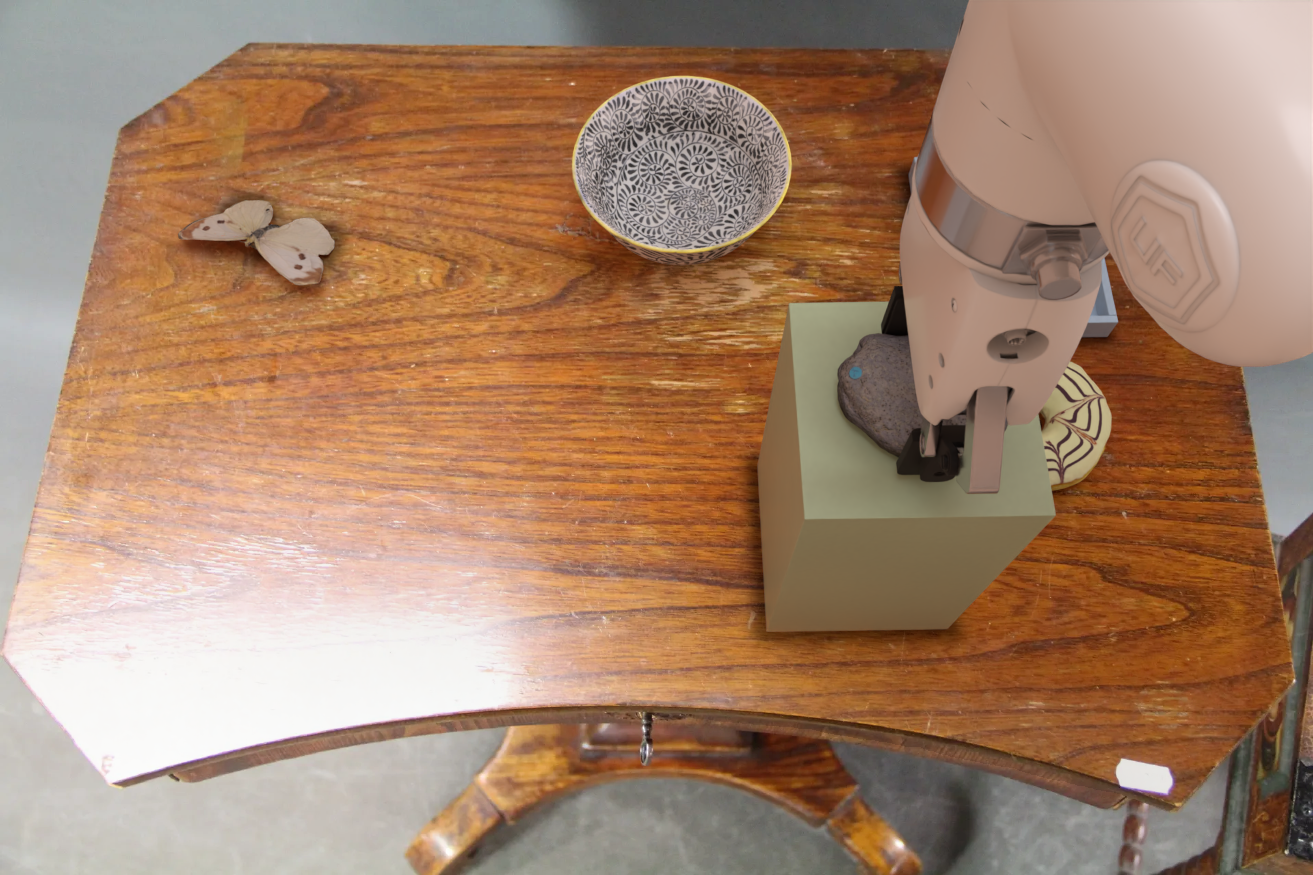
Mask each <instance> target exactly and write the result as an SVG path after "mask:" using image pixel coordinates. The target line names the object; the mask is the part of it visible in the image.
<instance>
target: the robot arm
mask: <svg viewBox="0 0 1313 875" xmlns="http://www.w3.org/2000/svg"><path fill="white" fill-rule="evenodd" d="M929 118H930V119H929V122H928V125H927V128H926V131H925V134H924V137H923V140H922V143H921V146H920V150H919V152H918V154H917V156H916V157H917V161H916V164H915V167H914V171H913V176H912V194H911V193H910V197H909V200H908V203H907V206H906V209H905V213H904V216H903V220H902V225H901V228H900V235H899V264H898V281H899V284H900V285H894V286H893V289H892V292H891V295H890V297H889V300H888V302H889V303H888V306H887V309H886V311H885V314H884V317H883V320H882V323H881V331H882V334H888V335H894V336H904V335H908V336H909V344H910V352H911V360H912V367H913V375H914V382H915V389H916V395H917V401H918V405H919V409H920V412H921V414H922V415H923V420H922V426H921V428H916V429H913V430H912V431H911V433H910V435H909V437H908V439H907V442H906V444H905V446H904V448H903V450H902V452H901V454H900V456H899V458H898V460H897V462H896V466H897V473H898V474H899V475H920V480H922V481H924V482H944V481H949V480H951V479H953V478H954V477H955V476H956V482H957V483H958V484H959V485H960V487H961V488H962V489H963V490H964V492H965V493H966V494H994V493H998V492H999V488H1000V479H1001V467H1002V455H1003V443H1004V431H1005V419H1007V422H1008V425H1009V426H1013V425H1023V424H1028V423H1030V422H1031V421H1032V420H1033V419H1034V418H1035V417H1036V416H1037V415H1038V413H1039V412H1040V411H1041V409H1042V408H1043V406H1044V405H1045V403H1046V402H1047V400H1048V399H1049V397H1050V395H1051V394H1052V392H1053V390H1054V389H1055V387H1056V385H1057V384H1058V382H1059V380H1060V378H1061V377H1062V375H1063V373H1064V371H1065V370H1066V368H1067V366H1068V364H1069V362H1071V360H1072V358H1073V357H1074V355H1075V352H1076V351H1077V348H1078V346H1079V344H1080V342H1081V339H1082V338H1083V337H1082V335H1083V333H1084V331H1085V328H1086V326H1087V323H1088V321H1089V318H1090V315H1091V313H1092V310H1093V307H1094V304H1095V301H1096V298H1097V294H1098V291H1099V288H1100V284H1101V281H1102V259H1103V258H1106V257H1107V256H1108V255H1109V254H1110V255H1111V257H1112V259H1113V261H1114V263H1115V265H1116V266H1117V269H1118V271H1119V272H1120V275H1121V278H1122V280H1123V282H1124V284H1125V286H1126V287H1127V288H1128V290H1129V291H1130V293H1131V295H1132V296H1133V298H1134V299H1135V301H1137V302H1138V304H1140V306H1141V307H1142V308H1143V309H1144V311H1145V312H1147V313H1148V314H1149V315H1150V317H1151V318H1152V319H1153V320H1154V321H1155V322H1156V324H1157V326H1159V327H1160V329H1162V330H1163V331H1164V332H1166V334H1168V336H1170V337H1171V338H1172V339H1173V340H1174V341H1175V342H1177V343H1178V344H1179V345H1181V346H1182V347H1184V348H1185V349H1187V350H1189V351H1190V352H1192V353H1194V354H1196V355H1197V356H1200V357H1202V358H1204V359H1206V360H1209V361H1212V362H1216V363H1218V364H1223V365H1225V366H1231V367H1238V368H1264V367H1265V368H1266V367H1269V366H1275V365H1276V366H1277V365H1280V364H1284V363H1288V362H1292V361H1295V360H1299V359H1302V358H1304V357H1306V356H1308V355H1309V356H1310V354H1313V0H968V2H967V5H966V8H965V11H964V13H963V18H962V20H961V22H960V26H959V29H958V31H957V35H956V38H955V42H954V45H953V47H952V50H951V54H950V57H949V60H948V63H947V66H946V69H945V72H944V75H943V79H942V82H941V85H940V88H939V91H938V94H937V98H936V101H935V104H934V106H933V110H932V113H931V116H930V117H929ZM955 415H966V425H942V423H943V419H950V418H952V417H954V416H955Z"/></svg>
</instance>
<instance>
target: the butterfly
mask: <svg viewBox="0 0 1313 875" xmlns="http://www.w3.org/2000/svg"><path fill="white" fill-rule="evenodd" d="M273 216H274V208H273V206H272V204H271V202H270V201H269V200H268V201H267V200H264V199H263V200H261V199H256V200H255V199H254V200H248V199H244V200H242V201H239V202H235V203H233V205H231V206H230V207H228V208H226V209H224V211H223V212H221V213H215V214H212V215H210V216H207V217H203V218H199V219H196V220H193V221H191V222H190V223H188V224H187V225H186V226H185V227H183V228H182V229H181V230H180V231H179V232H178V233H177V237H178V239H179V240H183V241H186V240H187V241H188V240H196V241H197V240H198V241H199V240H200V241H213V242H214V241H215V242H216V241H217V242H219V241H220V242H221V241H225V242H230V241H231V242H235V241H239V243H242V241H241V240H245V241H243V243H244V246H245V247H246V248H250V247H251V248H252V249H253V248H254V250H257V252H258V253H259V255H260V256H261V257H262V258H263V259H264V260H265V261H266V262H267V263H268V264H269V265H270V266H271V267H272V268H273V269H274V270H275V271H276V272H277V273H278V275H281V276H282V277H283V278H285V279H286V280H288V281H289V282H290V283H291V284H293V285H295V286H308V285H317V284H320V282H321V280H322V276H323V273H324V261H323V259H322V258H321V257H319V256H320V255H321V256H327V255H330V253H332V251H333V250H334V249H335V244H336V240H335V239H333V238H332V236H331V233H330V232H329V230H328V229H326V228H325V226H324V225H323V224H322V223H321V222H320V221H318V220H317V219H316V218H313V217H301V218H295V219H293V220H292V221H290V222H287V223H285V224H283V225H281V226H280V225H278V224H275V223H273V224H272V223H271V221H272V219H273ZM270 223H271V224H270Z"/></svg>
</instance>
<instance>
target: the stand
mask: <svg viewBox="0 0 1313 875" xmlns="http://www.w3.org/2000/svg"><path fill="white" fill-rule="evenodd" d="M888 303H889V301H841V302H839V301H838V302H836V301H835V302H833V301H832V302H831V301H830V302H789V303H788V306H787V311H786V316H785V321H784V327H783V332H782V337H781V342H780V346H779V352H778V358H777V363H776V367H775V372H774V376H773V377H774V378H773V382H772V388H771V393H770V398H769V403H768V409H767V412H766V413H767V415H766V420H765V423H764V428H763V435H762V439H761V445H760V451H759V455H758V459H757V460H758V461H757V465H756V466H757V468H756V469H757V483H758V484H757V485H758V505H759V520H760V538H761V539H760V540H761V541H760V542H761V560H762V575H763V577H762V578H763V593H764V594H763V595H764V614H765V631H766V633H768V632H769V633H778V632H779V633H783V632H784V633H785V632H787V633H788V632H789V633H790V632H848V631H849V632H852V631H856V632H857V631H917V630H918V631H921V630H923V631H924V630H928V631H929V630H948V629H949V628H950V627H951V626H952V625H953V624H954V623H955V622H956V621H957V620H958V618H960V617H961V615H963V614H964V612H965V611H967V609H968V608H969V607H970V606H971V605H972V604H973V603H974V602H975V601H976V600H977V599H978V598H979V596H981V595H982V594H983V592H984V591H985V590H986V589H988V588H989V586H990V585H991V584H992V583H993V582H994V581H995V580H996V579H997V578H998V577H999V576H1000V574H1002V573H1003V572H1004V571H1005V570H1006V569H1007V567H1008V566H1010V564H1012V562H1013V561H1014V560H1015V559H1016V558H1017V557H1018V556H1019V555H1020V554H1021V553H1022V552H1023V551H1024V550H1025V549H1026V548H1027V546H1028V545H1030V543H1031V542H1032V541H1033V540H1034V539H1035V538H1036V537H1037V536H1038V535H1039V534H1040V533H1041V532H1042V531H1043V530H1044V529H1045V527H1046V526H1047V525H1049V524H1050V523H1051V521H1052V520H1053V519H1054V518H1056V516H1057V514H1056V507H1055V502H1054V495H1053V491H1052V490H1051V484H1050V478H1049V472H1048V467H1047V461H1046V455H1045V449H1044V444H1043V438H1042V432H1041V429H1042V425H1041V420H1040V419H1039V415H1037V416H1036V417H1035V418H1034V419H1033V420H1032V421H1031V422H1030V423H1028V424H1023V425H1013V426H1009V425H1008V426H1007V429H1006V431H1005V432H1004V443H1003V455H1002V467H1001V479H1000V488H999V492H998V493H994V494H966V493H965V492H964V490H963V489H962V488H961V487H960V485H959V484H958V483H957V482H956V476H955V477H954V478H953V479H951V480H949V481H944V482H924V481H922V480H920V475H899V474H898V473H897V466H896V462H897V460H898V458H899V457H897V456H895V455H893V454H890V453H888V452H887V451H885V450H884V449H882V448H880V447H879V446H878V445H877V444H876V443H875V442H874V441H873V440H872V439H871V438H870V437H869V436H868V435H867V434H866V433H865V432H864V431H862V430H861V429H860V428H858V427H857V426H856V425H854V424H853V423H851V422H850V421H848V420H847V419H846V418H845V416H844V414H843V412H842V410H841V408H840V405H839V402H838V392H837V385H838V381H839V380H838V376H837V373H838V368H839V366H840V365H841V364H842V363H843V362H844V361H845V360H846V359H847V358H848V357H850V356H851V355H853V353H854V351H855V350H856V349H857V347H858V344H859V341H860V340H861V339H862V338H863V337H864V336H866V335H869V334H876V333H881V334H882V331H881V323H882V320H883V317H884V314H885V311H886V309H887V306H888Z"/></svg>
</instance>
